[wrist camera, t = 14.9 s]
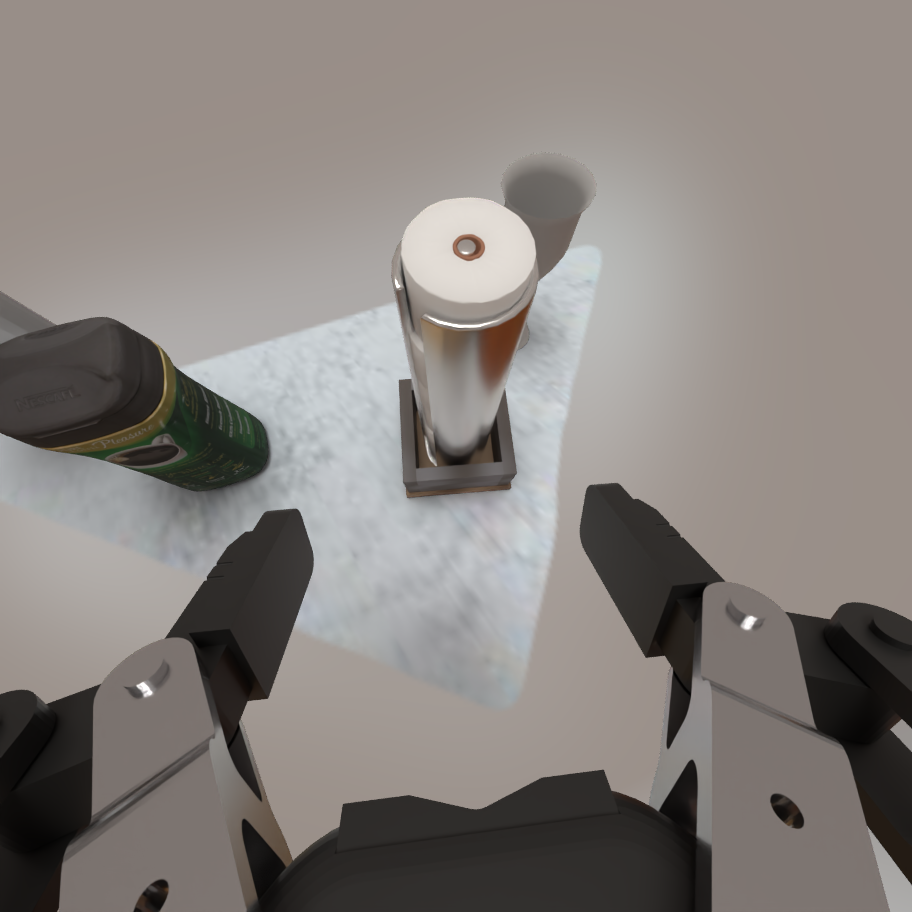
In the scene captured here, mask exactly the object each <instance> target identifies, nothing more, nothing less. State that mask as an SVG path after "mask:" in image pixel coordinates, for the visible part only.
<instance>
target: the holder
mask: <svg viewBox="0 0 912 912" xmlns="http://www.w3.org/2000/svg"><path fill="white" fill-rule="evenodd" d="M399 396H400V418H401V440H402V463H403V483H404V484H405V486H406V496H407V498H409V497H421V496H433V495H445V494H458V493H470V492H482V491H494V490H507V489H510V488H511V480H512V479H513V478H514V476H515V475H516V474H517V471H516V463H515V456H514V449H513V442H512V435H511V428H510V421H509V414H508V406H507V399H506V392H505V389H504V392H503V395H502V398H501V401H500V404H499V407H498V410H497V413H496V416H495V419H494V423H493V426H492V429H491V432H490V435H489V438H488V441H487V444H486V447H485V450H484V453H483V455H482V457H481V459H480V461H479V462H478V463H477V464H468V465H456V466H443V467H437V466H436V465H435V464H434V463H432V462H431V460H430V458H429V457H428V455H427V452H426V448H425V443H424V438H423V433H422V428H421V423H420V418H419V413H418V408H417V403H416V398H415V393H414V388H413V383H412V379H405V380H399Z"/></svg>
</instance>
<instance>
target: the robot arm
mask: <svg viewBox="0 0 912 912" xmlns="http://www.w3.org/2000/svg"><path fill="white" fill-rule="evenodd" d="M53 326H57V325H56V324H54V323H52V322H51V321H49V320H47V319H46V318H44V317H42V316H41V315H39V314H37V313H36V312H34V311H32V310H31V309H29V308H27V307H26V306H24V305H22V304H21V303H19V302H18V301H16V300H14V299H12V298H11V297H9V296H8V295H6V294H4V293H3V292H1V291H0V344H2V343H4V342H6V341H8V340H11V339H13V338H15V337H18V336H21V335H24V334H27V333H31V332H35V331H38V330H42V329H46V328H49V327H53ZM580 538H581V543H582V546H583V548H584V550H585V552H586V554H587V556H588V557H589V559H590V561H591V563H592V564H593V566H594V568H595V569H596V571H597V573H598V575H599V577H600V578H601V580H602V582H603V584H604V585H605V587H606V589H607V591H608V592H609V594H610V596H611V598H612V599H613V601H614V603H615V605H616V606H617V608H618V610H619V612H620V613H621V615H622V617H623V618H624V620H625V622H626V624H627V626H628V627H629V629H630V631H631V633H632V634H633V636H634V638H635V640H636V641H637V643H638V645H639V647H640V648H641V650H642V652H643V654H644V655H645V657H646V658H648V657H657V656H665V657H666V658H667V660H668V661H669V663H670V664H671V667H670V670H669V673H668V681H667V690H666V700H665V709H664V719H663V728H662V738H661V748H660V756H659V761H658V766H657V770H656V773H655V777H654V781H653V785H652V790H651V795H650V801H649V805H647V804H645V803H643V802H641V801H639V800H637V799H635V798H632V797H629V796H627V795H624V794H621V793H618V792H614V791H611V789H610V786H609V783H608V780H607V778H606V775H605V772H604V770H598V771H591V772H583V773H575V774H567V775H560V776H552V777H544V778H541V779H539V780H537V781H535V782H533V783H531V784H529V785H527V786H525V787H523V788H521V789H520V790H518V791H516V792H514V793H512V794H510V795H508V796H506V797H504V798H502V799H500V800H498V801H497V802H495V803H493V804H491V805H489V806H487V807H485V808H482V809H477V810H474V809H468V808H464V807H459V806H455V805H450V804H446V803H441V802H437V801H432V800H428V799H423V798H419V797H414V796H410V795H408V796H400V797H392V798H385V799H377V800H369V801H362V802H354V803H347V804H343V807H342V814H341V821H340V827H338V828H336V829H334V830H333V831H331V832H329V833H328V834H326V835H325V836H323V837H322V838H320V839H319V840H317V841H316V842H315V843H313V844H312V845H311V846H309V847H308V848H307V849H306V850H305V851H304V852H302V853H301V854H300V855H299V856H298V857H297V858H295V860H294V861H293V860H292V857H291V854H290V851H289V848H288V846H287V843H286V841H285V838H284V836H283V834H282V831H281V829H280V827H279V825H278V823H277V821H276V819H275V817H274V815H273V812H272V810H271V807H270V805H269V802H268V799H267V796H266V793H265V789H264V786H263V783H262V780H261V777H260V774H259V771H258V768H257V765H256V762H255V759H254V755H253V753H252V750H251V747H250V743H249V740H248V737H247V734H246V731H245V728H244V725H243V722H242V720H241V716H242V714H243V711H244V709H245V706H246V704H247V701H252V700H261V699H268V697H269V694H270V692H271V689H272V686H273V683H274V680H275V677H276V674H277V672H278V669H279V666H280V663H281V660H282V658H283V655H284V652H285V649H286V646H287V643H288V640H289V637H290V635H291V632H292V629H293V626H294V623H295V621H296V618H297V615H298V612H299V609H300V606H301V604H302V601H303V598H304V595H305V592H306V589H307V587H308V584H309V581H310V578H311V575H312V572H313V564H314V557H313V551H312V547H311V544H310V541H309V538H308V535H307V532H306V528H305V525H304V522H303V519H302V516H301V513H300V512H299V510H298V509H286V510H274V511H266V512H265V513H264V514H263V515H262V517H261V519H260V520H259V522H258V523H257V525H256V526H255V528H254V530H253V531H250V532H245V533H244V534H242V535H241V536H240V537H239V538H238V539H236V540H235V541H234V542H233V543H232V544H230V545H229V546H228V547H227V548H226V550H225V551H224V553H223V554H222V556H221V557H220V559H219V560H218V562H217V566H215V567H213V569H212V570H211V572H210V573H209V575H208V576H207V581H204V582H203V584H202V585H201V587H200V588H199V589H198V591H197V592H196V594H195V595H194V597H193V598H192V600H191V601H190V603H189V604H188V605H187V607H186V609H185V610H184V611H183V613H182V614H181V616H180V617H179V619H178V620H177V622H176V623H175V625H174V626H173V628H172V629H171V630H170V632H169V633H168V635H167V636H166V638H165V639H163V640H159V641H157V642H154V643H151V644H149V645H147V646H145V647H143V648H141V649H139V650H138V651H136V652H134V653H133V654H132V655H130V656H129V657H127V658H126V659H125V660H124V661H122V662H121V663H120V664H119V665H118V666H117V667H116V668H115V669H114V670H113V671H112V672H111V673H110V674H109V675H108V676H107V677H106V678H105V680H104V681H103V683H102V684H100V685H97V686H94V687H92V688H89V689H86V690H84V691H81V692H78V693H75V694H73V695H70V696H67V697H65V698H62V699H59V700H56V701H54V702H51V703H48V704H45V703H44V702H43V701H42V700H41V699H40V698H39V697H38V696H36V695H35V694H34V693H33V692H31V691H28V690H15V691H10V692H6V693H3V694H0V912H57V911H58V909H59V912H890V910H889V907H888V903H887V899H886V895H885V892H884V888H883V884H882V880H881V877H880V873H879V869H878V865H877V862H876V858H875V854H874V851H873V847H872V843H871V840H870V836H869V832H868V828H867V826H868V827H869V829H870V830H871V831H872V833H873V834H874V835H875V837H876V838H877V839H878V840H879V842H880V843H881V845H882V846H883V847H884V848H885V850H886V851H887V853H888V854H889V855H890V857H891V858H892V859H893V861H894V862H895V863H896V865H897V866H898V867H899V869H900V870H901V871H902V873H903V874H904V875H905V877H906V878H907V879H908V881H909V882H910V883H911V884H912V752H911V751H910V750H909V749H908V748H907V747H906V746H905V745H904V744H903V743H902V741H901V740H900V739H899V738H897V736H896V735H895V734H894V733H893V732H892V731H891V730H890V729H891V728H892V727H893V726H894V725H896V723H898V722H899V721H900V720H901V719H903V720H904V721H905V722H906V723H907V724H908V725H909V726H910V727H911V728H912V621H911V620H909V619H907V618H905V617H903V616H901V615H899V614H897V613H895V612H892V611H889V610H887V609H884V608H881V607H878V606H874V605H870V604H866V603H856V602H854V603H853V602H852V603H846V604H843V605H841V606H840V607H839V608H838V610H837V611H836V612H835V614H834V615H833V617H832V618H831V619H823V618H818V617H812V616H806V615H801V614H795V613H789V612H784V611H783V610H782V609H781V608H780V607H779V606H778V605H777V604H776V603H775V602H774V601H772V600H771V599H769V598H768V597H766V596H765V595H763V594H761V593H760V592H758V591H756V590H754V589H751V588H749V587H746V586H743V585H740V584H736V583H731V582H725V581H724V580H723V579H722V577H720V575H719V574H718V573H717V572H716V571H715V570H713V568H712V567H711V566H710V565H709V564H708V563H707V562H706V561H705V560H704V559H703V558H702V557H701V556H700V555H699V553H698V552H697V551H696V550H695V549H694V548H693V547H692V546H691V545H690V544H689V543H688V542H687V541H686V540H685V539H684V538H681V537H680V534H679V533H678V532H677V531H676V530H675V529H674V528H673V527H672V526H670V525H669V522H668V521H667V520H666V519H665V518H664V517H663V516H662V515H661V514H660V513H659V512H658V511H657V510H656V509H654V508H653V507H651V506H649V505H647V504H646V503H644V502H643V501H641V500H639V499H632V497H631V496H630V495H629V494H628V493H627V492H626V491H625V490H624V489H623V488H622V486H621V485H619V484H618V483H609V484H597V485H590V486H589V487H588V488H587V490H586V494H585V500H584V506H583V512H582V518H581V524H580Z"/></svg>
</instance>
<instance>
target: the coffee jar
mask: <svg viewBox="0 0 912 912" xmlns="http://www.w3.org/2000/svg"><path fill="white" fill-rule="evenodd" d="M0 433H2V434H4V435H6V436H9V437H12V438H14V439H16V440H19V441H22V442H24V443H27V444H30V445H32V446H35V447H38V448H42V449H46V450H51V451H56V452H63V453H70V454H77V455H82V456H87V457H92V458H96V459H100V460H104V461H108V462H111V463H114V464H117V465H120V466H123V467H126V468H129V469H132V470H135V471H138V472H141V473H144V474H147V475H150V476H153V477H155V478H158V479H160V480H163V481H166V482H168V483H171V484H173V485H176V486H179V487H182V488H186V489H189V490H193V491H204V490H210V489H215V488H219V487H223V486H227V485H230V484H233V483H236V482H239V481H242V480H244V479H247V478H249V477H251V476H253V475H255V474H256V473H258V472H259V471H260V470H261V469H262V468H263V466H264V465H265V463H266V461H267V457H268V444H267V437H266V433H265V430H264V428H263V425H262V424H261V422H260V421H259V420H258V419H257V418H256V417H254V416H253V415H251V414H250V413H248V412H247V411H245V410H244V409H242V408H240V407H238V406H237V405H235V404H233V403H231V402H230V401H228V400H226V399H224V398H222V397H221V396H219V395H217V394H216V393H214V392H212V391H211V390H209V389H207V388H206V387H204V386H202V385H201V384H199V383H198V382H196V381H194V380H193V379H191V378H190V377H188V376H187V375H185V374H184V373H182V372H181V371H180V370H178V369H177V368H176V367H175V366H174V365H173V363H172V362H171V360H170V358H169V357H168V356H167V354H166V353H165V352H164V351H163V349H162V348H160V346H159V345H157V344H156V343H155V342H153V341H152V340H150V339H148V338H147V337H145V336H143V335H141V334H139V333H138V332H136V331H134V330H132V329H130V328H129V327H127V326H126V325H124V324H122V323H120V322H119V321H116V320H114V319H111V318H107V317H95V318H89V319H84V320H79V321H75V322H70V323H65V324H61V325H57V326H53V327H49V328H46V329H42V330H38V331H35V332H31V333H27V334H24V335H21V336H18V337H15V338H13V339H11V340H8V341H6V342H4V343H2V344H0Z"/></svg>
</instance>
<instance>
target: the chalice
mask: <svg viewBox="0 0 912 912" xmlns="http://www.w3.org/2000/svg"><path fill="white" fill-rule="evenodd" d="M501 187H502V191H503V195H504V198H505V206H504V207H506V208H507V209H509V210H510V211H512V212H513V213H515V214H516V215H518V216H519V217H520V218H521V219H522V221H523V222H524V223H525V224H526V225H527V226H528V228H529V230H530V232H531V234H532V236H533V238H534V241H535V248H536V258H537V262H538V271H539V279H538V281H539V280H540V279H542V278H543V277H544V276H545V275H546V274H547V273H549V272H550V271H551V270H552V269H553V268H554V267H555V266H556V264H557V263H558V262H559V261H560V260H561V259H562V257H563V256H564V254H565V253H566V251H567V249H568V247H569V244H570V242H571V239H572V236H573V234H574V231H575V229H576V226H577V223H578V220H579V218H580V216H581V213H582V212H583V211H584V210H585V209H586V208H587V207H588V206H589V205H590V204H591V202H592V201H593V199H594V197H595V196H596V187H597V184H596V181H595V179H594V176H593V174H592V173H591V172H590V171H589V170H588V168H587V167H586V166H585V165H584V164H582V163H580V162H579V161H577V160H575V159H574V158H571V157H568V156H565V155H562V154H556V153H546V152H545V153H536V154H530V155H528V156H525V157H522V158H519V159H518V160H516V161H515V162H513V163H512V164H511V165H509V167H508V168H507V169H506V171H505V172H504V173H503V177H502V181H501ZM528 340H529V330H528V326H527V323H526V324H525V327H524V330H523V333H522V336H521V339H520V342H519V345H518V348H517V350H519V349H521V348H523V347H524V346H525V345H526V344H527V342H528Z"/></svg>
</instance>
